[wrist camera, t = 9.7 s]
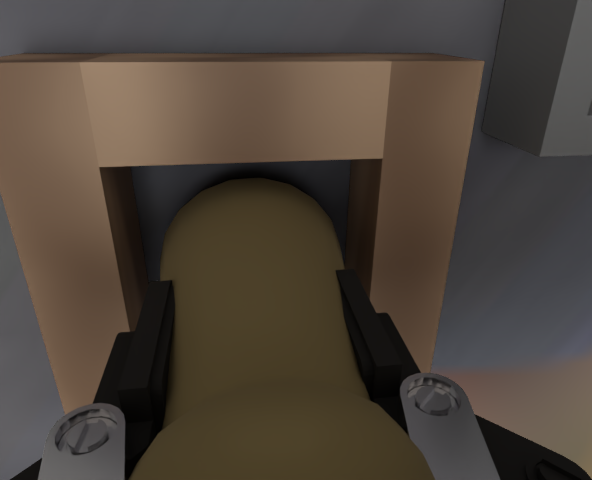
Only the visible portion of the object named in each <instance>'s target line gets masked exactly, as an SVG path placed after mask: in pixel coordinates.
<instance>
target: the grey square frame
mask: <svg viewBox="0 0 592 480" xmlns="http://www.w3.org/2000/svg"><path fill="white" fill-rule="evenodd" d="M482 132H483V133H486V134H488V135H490V136H493V137H495V138H497V139H499V140H502V141H504V142H506V143H509V144H511V145H513V146H516V147H518V148H520V149H523V150H525V151H527V152H529V153H532V154H534V155H536V156H539V157H550V156H582V155H592V0H506V1H505V6H504V12H503V17H502V23H501V28H500V34H499V39H498V44H497V50H496V55H495V61H494V66H493V72H492V77H491V83H490V88H489V93H488V99H487V104H486V110H485V115H484V121H483V126H482Z"/></svg>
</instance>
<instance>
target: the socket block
mask: <svg viewBox="0 0 592 480" xmlns="http://www.w3.org/2000/svg"><path fill="white" fill-rule="evenodd" d="M484 62H485V61H481V60H474V59H468V58H461V57H455V56H448V55H441V54H435V53H23V54H16V55H10V56H3V57H0V192H1V196H2V199H3V203H4V206H5V210H6V213H7V216H8V220H9V223H10V227H11V230H12V234H13V237H14V240H15V244H16V247H17V251H18V254H19V258H20V261H21V264H22V268H23V271H24V275H25V278H26V282H27V285H28V288H29V292H30V295H31V299H32V302H33V306H34V309H35V312H36V316H37V319H38V323H39V326H40V330H41V333H42V337H43V340H44V343H45V347H46V350H47V354H48V357H49V361H50V364H51V367H52V371H53V374H54V378H55V381H56V385H57V388H58V391H59V395H60V398H61V402H62V405H63V409H64V412H65V415H66V414H67V413H69V412H71V411H73V410H75V409H76V408H79V407H82V406H85V405H88V404H93V401H94V398H95V395H96V392H97V390H98V387H99V384H100V381H101V378H102V375H103V373H104V370H105V367H106V364H107V361H108V358H109V356H110V353H111V350H112V347H113V344H114V341H115V339H116V336H117V334H118V333H120V332H131V331H135V329H136V326H137V322H138V319H139V316H140V312H141V309H142V306H143V302H144V299H145V296H146V292H147V289H148V285H149V284H148V277H147V271H146V265H145V258H144V252H143V245H142V239H141V233H140V226H139V220H138V213H137V207H136V201H135V194H134V188H133V181H132V175H131V169H130V166H151V165H184V164H216V163H249V162H282V161H314V160H347V159H351V168H350V185H349V201H348V218H347V234H346V250H345V267H344V268H345V269H354V270H355V272H356V274H357V276H358V278H359V280H360V282H361V284H362V286H363V288H364V290H365V292H366V294H367V296H368V298H369V299H370V301H371V303H372V305H373V307H374V309H375V311H376V313H383V312H386V313H388V314H389V316H390V317H391V319H392V321H393V323H394V324H395V326H396V328H397V330H398V332H399V334H400V335H401V337H402V339H403V341H404V343H405V344H406V346H407V348H408V350H409V352H410V353H411V355H412V357H413V359H414V361H415V363H416V364H417V366H418V368H419V370H420V372H421V373H430V371H431V365H432V359H433V354H434V348H435V342H436V337H437V331H438V325H439V319H440V314H441V308H442V302H443V297H444V291H445V285H446V279H447V274H448V268H449V262H450V256H451V251H452V245H453V239H454V234H455V228H456V222H457V216H458V211H459V205H460V199H461V194H462V188H463V182H464V176H465V171H466V165H467V159H468V154H469V148H470V142H471V136H472V131H473V125H474V119H475V114H476V108H477V102H478V96H479V91H480V85H481V79H482V73H483V68H484Z"/></svg>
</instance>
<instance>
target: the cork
mask: <svg viewBox="0 0 592 480" xmlns="http://www.w3.org/2000/svg"><path fill="white" fill-rule="evenodd" d="M342 269H345V268H344V263H343V258H342V253H341V248H340V244H339V240H338V238H337V235H336V232H335V229H334V226H333V224H332V221H331V219H330V218H329V216H328V215H327V214H326V213H325V212H324V210H323V209H322V208H321V207H320V206H319V204H318V203H317V202H316V201H315V199H313V198H312V197H310V196H308V195H307V194H305V193H303V192H302V191H300V190H298V189H297V188H295V187H293V186H292V185H290V184H286V183H282V182H278V181H273V180H269V179H265V178H248V179H234V180H228V181H226V182H223V183H221V184H218V185H216V186H213V187H211V188H208V189H206V190H203V191H201V192H200V193H199V194H198V195H196V196H195V197H194V198H193V199H192V200H190V201H189V202H188V203H187V204H186V205H184V206H183V207H182V208H181V209H180V210H179V211H178V213H177V214H176V216H175V218H174V219H173V221H172V223H171V224H170V226H169V228H168V229H167V231H166V233H165V236H164V241H163V247H162V252H161V257H160V281H166V280H172V286H173V287H174V297H175V313H174V323H173V332H172V342H171V352H170V361H169V371H168V381H167V390H166V405H165V417H164V421H163V426H162V430H161V432H159V433H158V435H157V436H156V438H155V439H154V440H153V442H152V443H151V445H150V446H149V447H148V449H147V450H146V452H145V453H144V454H143V456H142V457H141V459H140V460H139V461H138V463H137V464H136V466H135V468H134V470H133V472H132V474H131V476H130V477H129V479H128V480H435V478H434V476H433V474H432V472H431V469H430V467H429V465H428V463H427V461H426V459H425V457H424V455H423V453H422V452H421V451H420V450H419V448H418V447H417V446H416V445H415V444H414V442H413V441H412V440H411V439H410V438H409V436H408V435H407V433H406V432H405V431H404V430H403V429H402V428H401V427H400V426H399V425H398V424H397V423H396V422H395V421H394V420H393V419H392V418H391V417H390V416H389V415H388V414H387V413H386V412H385V411H384V410H383V409H382V408H381V407H380V406H379V405H378V404H376V403H374V402H372V401H371V399H370V397H369V394H368V392H367V389H366V386H365V384H364V383H363V380H362V377H361V373H360V370H359V367H358V363H357V360H356V356H355V353H354V349H353V346H352V343H351V339H350V336H349V332H348V329H347V325H346V322H345V319H344V314H343V306H342V297H341V289H340V284H339V281H338V278H337V274H336V270H342Z"/></svg>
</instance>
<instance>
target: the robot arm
mask: <svg viewBox="0 0 592 480" xmlns="http://www.w3.org/2000/svg"><path fill="white" fill-rule="evenodd" d="M336 274H337V278H338V281H339V284H340V289H341V297H342V306H343V314H344V319H345V322H346V325H347V329H348V332H349V336H350V339H351V343H352V346H353V349H354V353H355V356H356V360H357V363H358V367H359V370H360V373H361V377H362V380H363V383H364V384H365V386H366V389H367V392H368V394H369V397H370V399H371V401H372V402H374V403H376V404H378V405H379V406H380V407H381V408H382V409H383V410H384V411H385V412H386V413H387V414H388V415H389V416H390V417H391V418H392V419H393V420H394V421H395V422H396V423H397V424H398V425H399V426H400V427H401V428H402V429H403V430H404V431H405V432H406V433H407V435H408V436H409V438H410V439H411V440H412V441H413V442H414V444H415V445H416V446H417V447H418V448H419V450H420V451H421V452H422V453H423V455H424V457H425V459H426V461H427V463H428V465H429V467H430V469H431V472H432V474H433V476H434V478H435V480H592V479H591V478H590V476H589V475H588V474H587V473H586V472H585V471H584V470H583V469H582V468H581V467H579V466H578V465H577V464H576V463H574V462H573V461H571V460H569V459H567V458H566V457H564V456H562V455H560V454H558V453H556V452H553V451H552V450H549V449H547V448H545V447H543V446H541V445H539V444H537V443H534V442H532V441H530V440H528V439H526V438H524V437H522V436H520V435H517V434H515V433H513V432H511V431H509V430H507V429H505V428H502V427H501V426H499V425H496V424H494V423H492V422H490V421H488V420H485V419H484V418H481V417H479V416H477V415H475V414H474V412H473V410H472V407H471V405H470V402H469V400H468V397H467V396H466V394H465V392H464V391H463V389H462V388H461V387H460V386H459V385H458V384H456V383H455V382H454V381H452V380H450V379H448V378H447V377H444V376H441V375H438V374H433V373H421V372H420V370H419V368H418V366H417V364H416V363H415V361H414V359H413V357H412V355H411V353H410V352H409V350H408V348H407V346H406V344H405V343H404V341H403V339H402V337H401V335H400V334H399V332H398V330H397V328H396V326H395V324H394V323H393V321H392V319H391V317H390V316H389V314H388V313H386V312H383V313H376V311H375V309H374V307H373V305H372V303H371V301H370V299H369V298H368V296H367V294H366V292H365V290H364V288H363V286H362V284H361V282H360V280H359V278H358V276H357V274H356V272H355V270H354V269H342V270H336ZM174 313H175V297H174V287H173V286H172V280H166V281H151V282H150V283H149V285H148V289H147V292H146V296H145V299H144V302H143V306H142V309H141V312H140V316H139V319H138V322H137V326H136V329H135V331H131V332H120V333H118V334H117V336H116V339H115V341H114V344H113V347H112V350H111V353H110V356H109V358H108V361H107V364H106V367H105V370H104V373H103V375H102V378H101V381H100V384H99V387H98V390H97V392H96V395H95V398H94V401H93V404H88V405H85V406H82V407H79V408H76V409H75V410H73V411H71V412H69V413H67V414H66V415H64V416H63V417H62V418H61V419H59V420H58V421H57V422H56V423H55V425H54V426H53V427H52V428H51V430H50V431H49V434H48V436H47V439H46V442H45V447H44V452H43V457H42V458H41V459H40V460H38V461H37V462H35V463H34V464H32V465H31V466H30V467H28V468H27V469H25V470H24V471H22V472H21V473H19V474H18V475H16V476H15V477H13V478H12V479H10V480H128V479H129V477H130V476H131V474H132V472H133V470H134V468H135V466H136V464H137V463H138V461H139V460H140V459H141V457H142V456H143V454H144V453H145V452H146V450H147V449H148V447H149V446H150V445H151V443H152V442H153V440H154V439H155V438H156V436H157V435H158V433H159V432H161V430H162V426H163V421H164V417H165V405H166V390H167V381H168V371H169V361H170V352H171V342H172V332H173V323H174Z"/></svg>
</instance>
